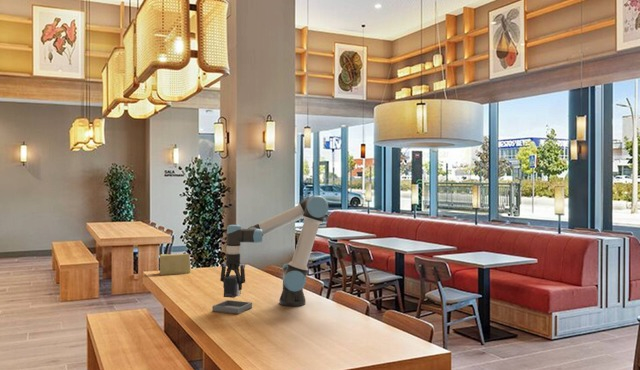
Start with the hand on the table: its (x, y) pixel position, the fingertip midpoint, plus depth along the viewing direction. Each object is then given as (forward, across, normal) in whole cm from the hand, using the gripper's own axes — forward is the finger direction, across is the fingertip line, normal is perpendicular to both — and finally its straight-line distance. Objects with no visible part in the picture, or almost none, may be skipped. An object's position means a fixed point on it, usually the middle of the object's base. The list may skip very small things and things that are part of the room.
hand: (232, 295), depth 284 cm
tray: (+8, 0, 0) cm, 8 cm away
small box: (+1, 0, 0) cm, 1 cm away
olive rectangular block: (+9, +95, -80) cm, 124 cm away
